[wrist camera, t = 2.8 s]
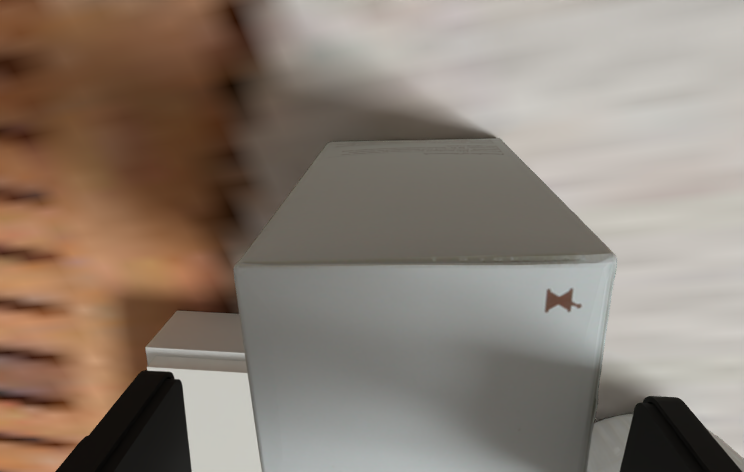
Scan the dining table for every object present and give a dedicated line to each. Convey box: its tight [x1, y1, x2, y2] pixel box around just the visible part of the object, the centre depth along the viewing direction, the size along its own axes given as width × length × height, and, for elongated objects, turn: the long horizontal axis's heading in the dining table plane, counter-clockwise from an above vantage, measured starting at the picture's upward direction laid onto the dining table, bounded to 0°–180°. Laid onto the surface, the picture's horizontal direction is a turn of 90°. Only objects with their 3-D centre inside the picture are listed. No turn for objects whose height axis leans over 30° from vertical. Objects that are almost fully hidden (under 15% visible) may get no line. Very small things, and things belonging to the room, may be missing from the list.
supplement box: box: [234, 138, 617, 472], centre depth 16 cm, size 7×7×13 cm
